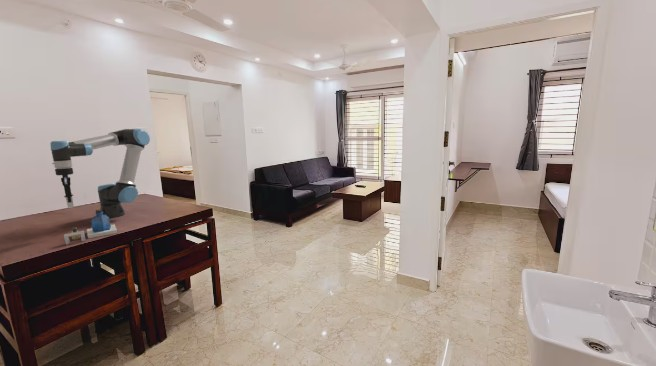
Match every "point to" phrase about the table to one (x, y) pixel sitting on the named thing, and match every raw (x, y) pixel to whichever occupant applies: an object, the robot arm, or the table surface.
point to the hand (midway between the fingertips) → (70, 207)
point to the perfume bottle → (100, 221)
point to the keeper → (72, 235)
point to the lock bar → (75, 235)
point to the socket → (101, 232)
